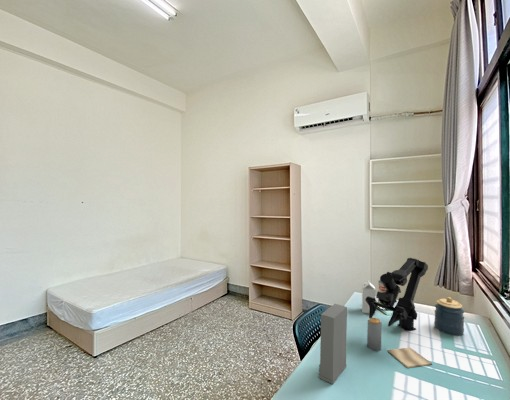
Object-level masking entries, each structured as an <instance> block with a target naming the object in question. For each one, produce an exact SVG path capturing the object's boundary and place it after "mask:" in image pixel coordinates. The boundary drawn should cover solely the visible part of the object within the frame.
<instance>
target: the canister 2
mask: <svg viewBox="0 0 510 400" xmlns="http://www.w3.org/2000/svg"><path fill="white" fill-rule="evenodd" d="M434 307H435V310H434V323H433V325H434V328H435V329H436V330H437V331H439V332H442V333H444V334H447V335H451V336H462V335H464V332H465V326H464V325H465V324H464V323H465V316H464V313H465V309H464V308H463V305H462V304H461V303H460V302H458V301H457V300H454V299H452V297H450V296H448V297H446V298H440V299H437V300H436V303H434Z"/></svg>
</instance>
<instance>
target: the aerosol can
mask: <svg viewBox="0 0 510 400" xmlns="http://www.w3.org/2000/svg"><path fill="white" fill-rule="evenodd" d="M377 285H378V286H377V292H382V293H383V292H385V291H386V288H385V287H384V285H383V284H382V282H381V280H380V279H379V280H378V282H377ZM377 302H380V301H379V298H377Z"/></svg>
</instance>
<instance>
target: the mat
mask: <svg viewBox="0 0 510 400" xmlns="http://www.w3.org/2000/svg"><path fill="white" fill-rule="evenodd" d="M387 352H388V353H389V354H390V355H391V356H392V357H394V358H395V359H396V360H397V361H399V362H400V363H401V364H402V365H403V366H404V367H406V368H407V369H410V368H417V367H425V366H432V365H433V363H432V362H431V361H430V360H428V359H427V358H425V357H424V356H423V355H421V354H419V352H417V351H416V350H414V349H413V348H411V347H404V348H403V347H401V348H395V349H388V350H387Z"/></svg>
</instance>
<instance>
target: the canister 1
mask: <svg viewBox="0 0 510 400" xmlns="http://www.w3.org/2000/svg"><path fill="white" fill-rule="evenodd" d="M382 326H383V325H382V322H381V320H380V319H379V318H376V317H372V318H369V319H368V320H367V327H366V328H367V330H366V332H367V334H366V336H367V339H366V347H367V348H368V349H369V350H371V351H373V352H380V351H381V350H382Z"/></svg>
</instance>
